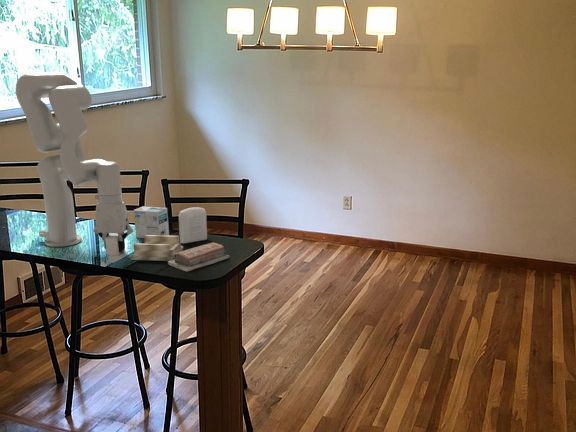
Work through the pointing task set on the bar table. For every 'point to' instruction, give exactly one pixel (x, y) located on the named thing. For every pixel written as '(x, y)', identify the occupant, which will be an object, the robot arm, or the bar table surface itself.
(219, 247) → the packaged product
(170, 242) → the beige wooden tray
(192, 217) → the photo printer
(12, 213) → the bar table surface
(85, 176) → the robot arm
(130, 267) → the bar table surface
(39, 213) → the bar table surface
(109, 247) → the white rectangular block
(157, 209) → the light bulb box
